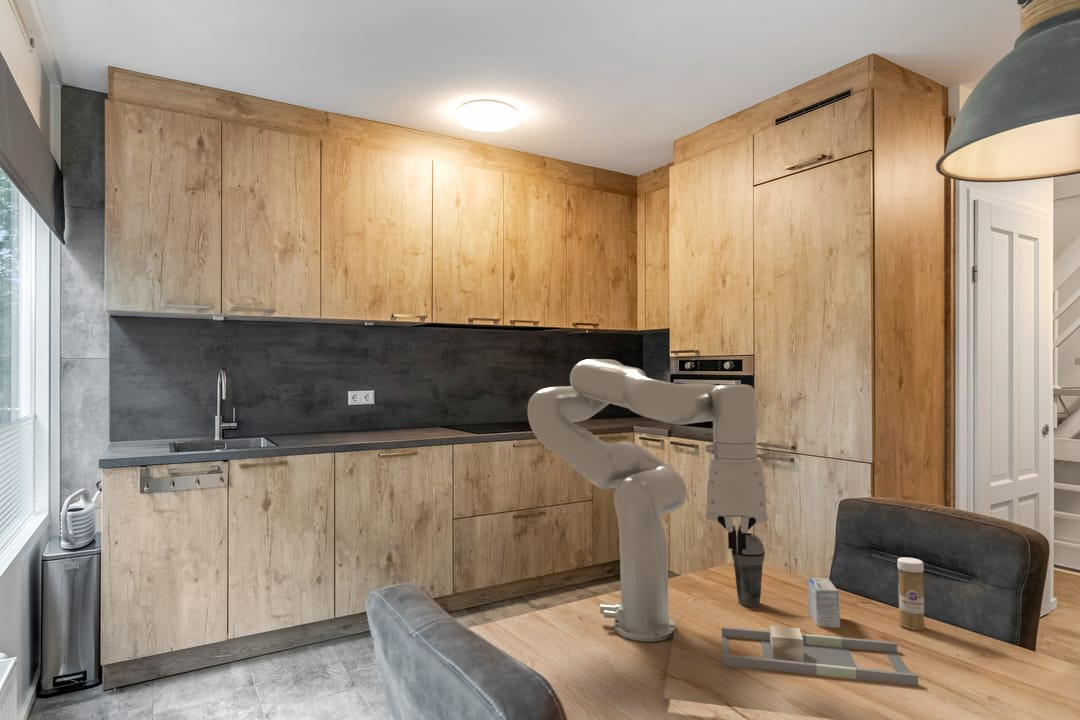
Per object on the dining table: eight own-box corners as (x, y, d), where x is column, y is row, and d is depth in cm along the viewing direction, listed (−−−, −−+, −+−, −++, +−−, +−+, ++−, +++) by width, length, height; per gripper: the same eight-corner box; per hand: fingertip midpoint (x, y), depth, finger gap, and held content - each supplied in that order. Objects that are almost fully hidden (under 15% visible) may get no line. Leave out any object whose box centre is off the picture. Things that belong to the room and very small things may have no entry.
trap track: (722, 673, 108) (722, 655, 108) (722, 642, 120) (721, 626, 120) (918, 695, 100) (918, 676, 100) (896, 659, 112) (895, 642, 112)
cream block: (772, 659, 109) (772, 636, 109) (770, 647, 114) (769, 625, 114) (803, 663, 108) (803, 639, 108) (799, 650, 113) (799, 628, 113)
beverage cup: (771, 609, 137) (768, 517, 137) (737, 609, 137) (735, 517, 137) (759, 597, 144) (757, 510, 144) (728, 597, 144) (726, 510, 144)
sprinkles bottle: (905, 631, 124) (903, 562, 124) (895, 622, 129) (893, 556, 129) (929, 631, 124) (927, 563, 124) (918, 622, 128) (916, 556, 128)
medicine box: (841, 635, 123) (839, 591, 123) (816, 634, 123) (815, 589, 124) (830, 620, 130) (829, 578, 131) (808, 618, 131) (807, 577, 131)
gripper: (691, 453, 113) (694, 556, 112) (780, 455, 108) (783, 561, 108) (693, 448, 120) (695, 545, 119) (776, 450, 116) (779, 550, 115)
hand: (737, 552), depth 114 cm, fingers closed
